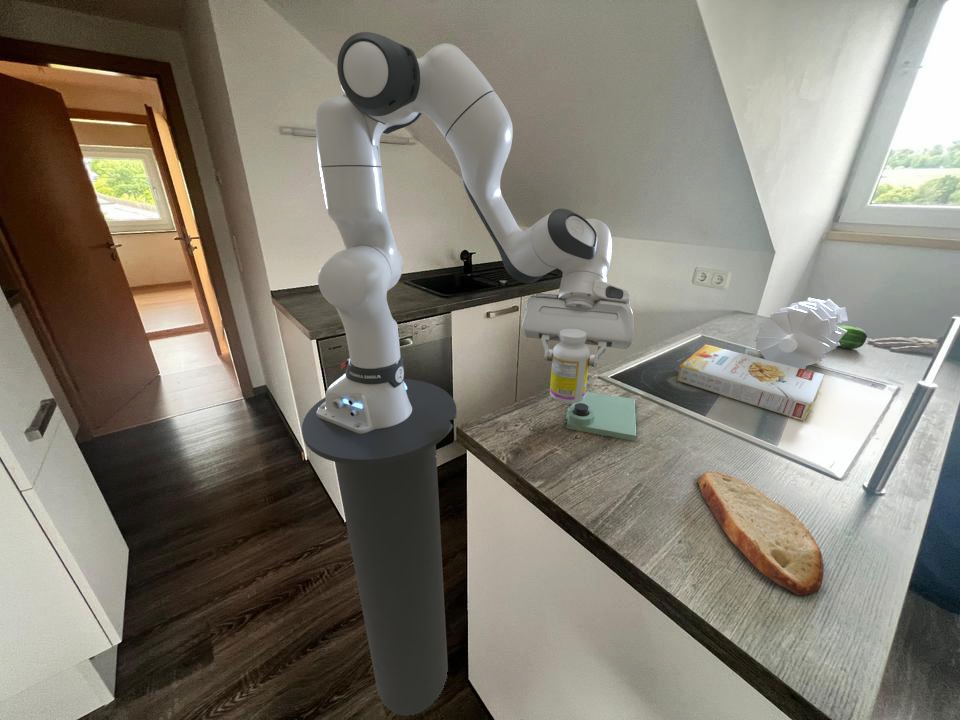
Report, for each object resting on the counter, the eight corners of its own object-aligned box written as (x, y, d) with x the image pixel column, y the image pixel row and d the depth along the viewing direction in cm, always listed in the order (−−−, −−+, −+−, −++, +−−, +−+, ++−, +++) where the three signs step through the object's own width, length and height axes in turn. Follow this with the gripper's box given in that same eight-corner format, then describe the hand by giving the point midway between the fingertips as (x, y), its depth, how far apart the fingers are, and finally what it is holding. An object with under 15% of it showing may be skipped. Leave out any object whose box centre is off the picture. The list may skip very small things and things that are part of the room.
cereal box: (704, 342, 115) (826, 371, 97) (700, 359, 117) (818, 391, 99) (679, 364, 102) (815, 402, 84) (675, 382, 104) (806, 423, 86)
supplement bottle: (571, 385, 78) (578, 324, 73) (592, 400, 72) (601, 336, 67) (542, 391, 75) (547, 329, 70) (561, 407, 70) (568, 341, 65)
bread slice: (703, 472, 71) (708, 455, 69) (829, 526, 60) (839, 508, 58) (666, 528, 59) (671, 510, 58) (815, 610, 48) (826, 590, 46)
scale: (564, 428, 84) (565, 416, 83) (572, 394, 98) (574, 383, 97) (634, 441, 80) (637, 429, 78) (633, 404, 94) (635, 393, 92)
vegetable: (871, 327, 120) (792, 314, 133) (862, 349, 120) (784, 333, 134) (869, 332, 125) (793, 319, 139) (860, 353, 126) (785, 338, 139)
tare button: (573, 415, 84) (573, 408, 83) (574, 408, 86) (575, 402, 86) (587, 418, 83) (588, 411, 82) (588, 411, 85) (589, 404, 85)
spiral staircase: (757, 377, 116) (785, 353, 130) (834, 373, 101) (856, 346, 115) (742, 319, 114) (772, 300, 128) (818, 306, 99) (843, 287, 113)
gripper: (526, 284, 75) (512, 348, 71) (639, 292, 69) (630, 364, 65) (530, 300, 81) (517, 361, 76) (634, 310, 75) (626, 376, 70)
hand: (570, 362), depth 70 cm, fingers closed on supplement bottle, 6 cm apart
